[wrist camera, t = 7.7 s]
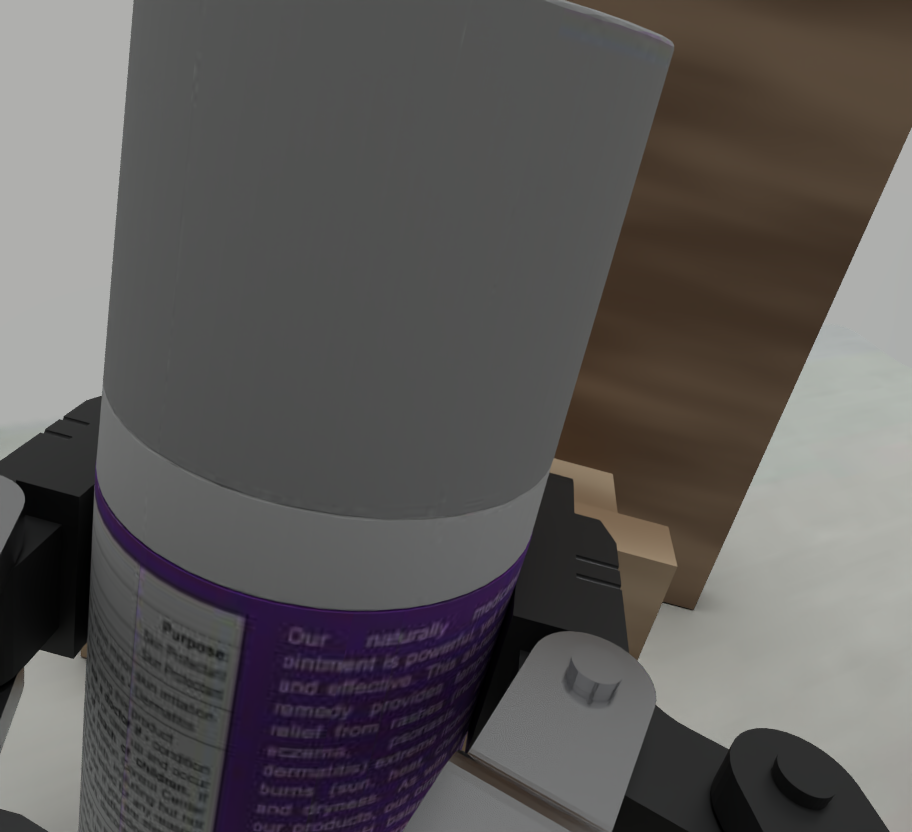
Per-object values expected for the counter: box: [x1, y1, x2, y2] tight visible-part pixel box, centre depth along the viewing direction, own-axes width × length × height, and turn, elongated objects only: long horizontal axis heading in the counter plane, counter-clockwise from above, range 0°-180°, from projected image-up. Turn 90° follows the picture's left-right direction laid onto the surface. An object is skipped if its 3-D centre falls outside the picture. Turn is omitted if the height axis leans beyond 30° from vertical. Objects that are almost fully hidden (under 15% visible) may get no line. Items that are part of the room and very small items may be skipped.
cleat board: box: [81, 0, 912, 752], centre depth 18 cm, size 10×16×22 cm, turn 83°
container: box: [79, 0, 674, 832], centre depth 10 cm, size 5×5×15 cm
